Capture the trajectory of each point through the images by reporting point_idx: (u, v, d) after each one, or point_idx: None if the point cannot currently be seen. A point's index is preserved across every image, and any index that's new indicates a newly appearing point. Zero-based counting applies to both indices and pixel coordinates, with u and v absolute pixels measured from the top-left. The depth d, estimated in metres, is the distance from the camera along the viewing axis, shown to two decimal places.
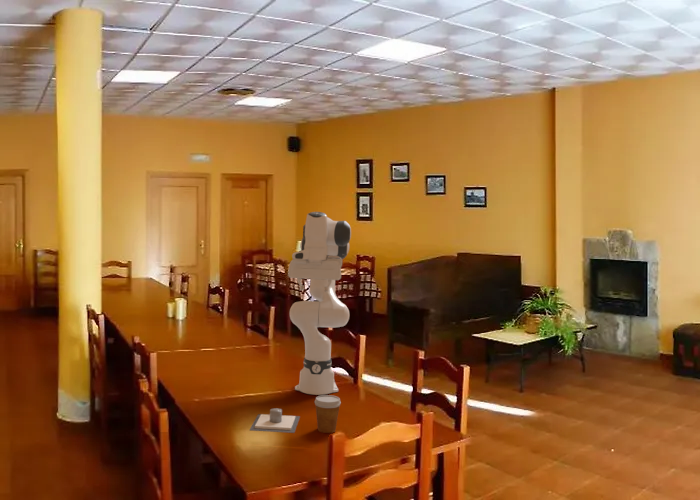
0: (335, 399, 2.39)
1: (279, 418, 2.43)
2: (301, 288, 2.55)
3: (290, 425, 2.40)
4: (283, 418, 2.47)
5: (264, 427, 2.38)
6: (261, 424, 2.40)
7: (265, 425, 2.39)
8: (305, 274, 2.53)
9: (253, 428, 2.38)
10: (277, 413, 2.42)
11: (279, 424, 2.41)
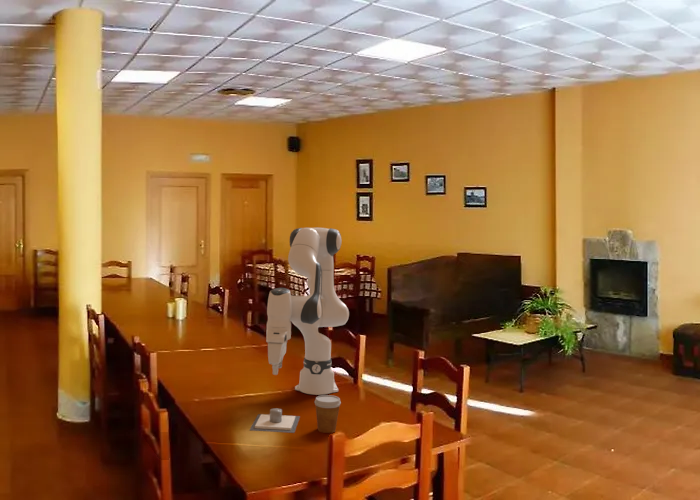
0: (335, 399, 2.39)
1: (279, 418, 2.43)
2: (277, 372, 2.38)
3: (290, 425, 2.40)
4: (283, 418, 2.47)
5: (264, 427, 2.38)
6: (261, 424, 2.40)
7: (265, 425, 2.39)
8: (281, 355, 2.39)
9: (253, 428, 2.38)
10: (277, 413, 2.42)
11: (279, 424, 2.41)
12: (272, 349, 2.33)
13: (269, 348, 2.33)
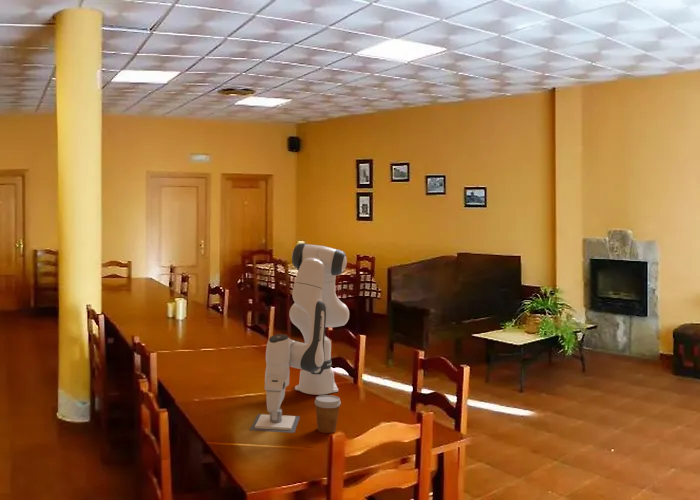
0: (335, 399, 2.39)
1: (279, 418, 2.43)
2: None
3: (290, 425, 2.40)
4: (283, 418, 2.47)
5: (264, 427, 2.38)
6: (261, 424, 2.40)
7: (265, 425, 2.39)
8: (280, 402, 2.40)
9: (253, 428, 2.38)
10: (277, 413, 2.42)
11: (279, 424, 2.41)
12: (271, 397, 2.34)
13: (267, 396, 2.34)
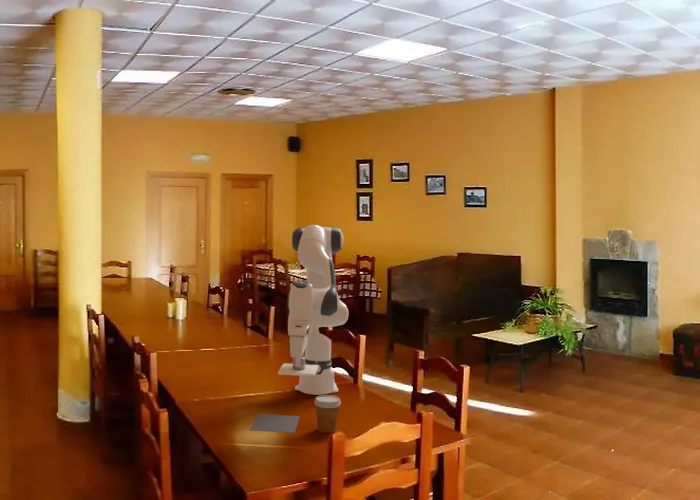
0: (335, 399, 2.39)
1: (302, 366, 2.39)
2: (300, 364, 2.38)
3: (313, 372, 2.36)
4: (306, 366, 2.44)
5: (287, 373, 2.34)
6: (285, 370, 2.37)
7: (288, 371, 2.36)
8: (303, 349, 2.37)
9: (253, 428, 2.38)
10: (301, 360, 2.38)
11: (302, 371, 2.37)
12: (294, 342, 2.30)
13: (291, 341, 2.30)
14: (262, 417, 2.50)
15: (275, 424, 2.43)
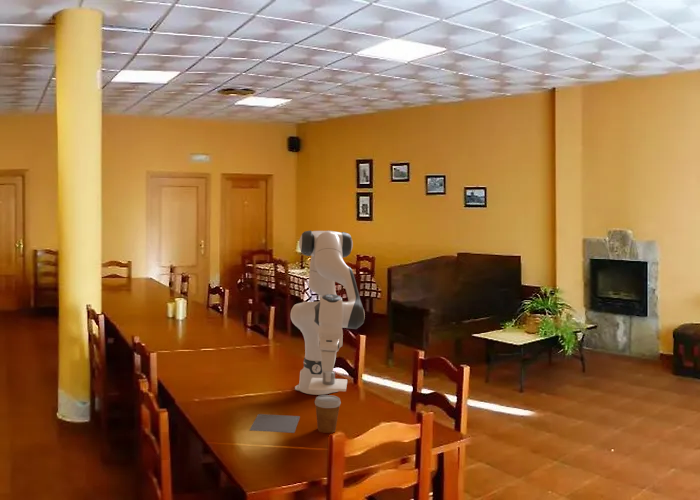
0: (335, 399, 2.39)
1: (332, 380, 2.37)
2: (330, 379, 2.35)
3: (344, 387, 2.34)
4: (335, 381, 2.41)
5: (318, 388, 2.32)
6: (315, 385, 2.34)
7: (319, 386, 2.33)
8: None
9: (253, 428, 2.38)
10: (331, 375, 2.36)
11: (333, 386, 2.35)
12: (326, 357, 2.28)
13: (322, 356, 2.28)
14: (262, 417, 2.50)
15: (275, 424, 2.43)
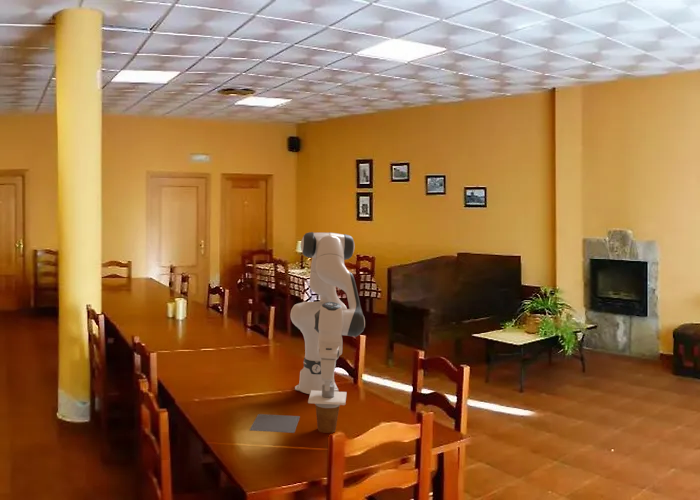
0: None
1: (332, 394, 2.37)
2: (329, 388, 2.34)
3: (344, 400, 2.35)
4: (335, 394, 2.42)
5: (318, 402, 2.32)
6: (314, 399, 2.35)
7: (318, 400, 2.34)
8: None
9: (253, 428, 2.38)
10: (330, 388, 2.37)
11: (332, 399, 2.35)
12: (325, 365, 2.28)
13: (322, 364, 2.28)
14: (262, 417, 2.50)
15: (275, 424, 2.43)
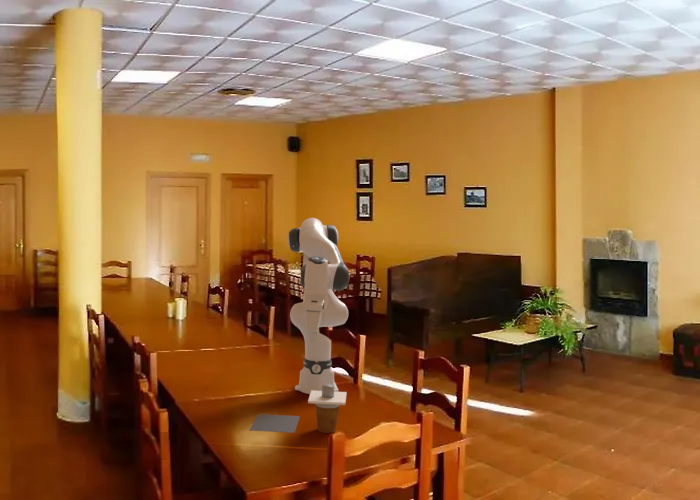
0: None
1: (332, 394, 2.37)
2: (315, 340, 2.40)
3: (344, 400, 2.35)
4: (335, 394, 2.42)
5: (318, 402, 2.32)
6: (314, 399, 2.35)
7: (318, 400, 2.34)
8: None
9: (253, 428, 2.38)
10: (330, 388, 2.37)
11: (332, 399, 2.35)
12: (310, 316, 2.34)
13: (307, 316, 2.34)
14: (262, 417, 2.50)
15: (275, 424, 2.43)
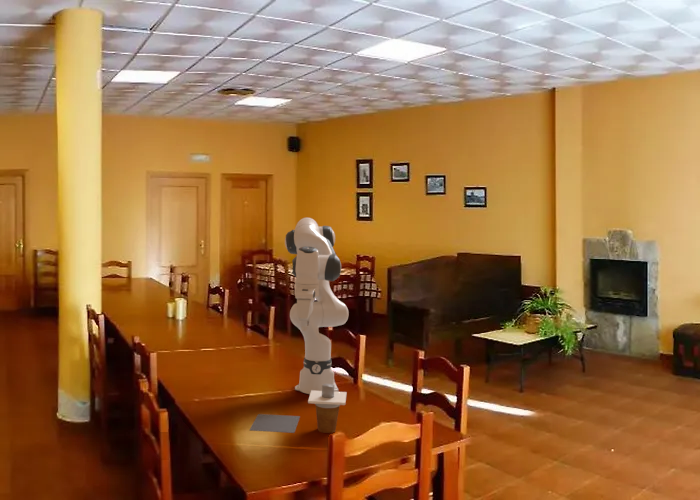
0: None
1: (332, 394, 2.37)
2: (306, 328, 2.43)
3: (344, 400, 2.35)
4: (335, 394, 2.42)
5: (318, 402, 2.32)
6: (314, 399, 2.35)
7: (318, 400, 2.34)
8: None
9: (253, 428, 2.38)
10: (330, 388, 2.37)
11: (332, 399, 2.35)
12: (301, 304, 2.37)
13: (298, 304, 2.37)
14: (262, 417, 2.50)
15: (275, 424, 2.43)
